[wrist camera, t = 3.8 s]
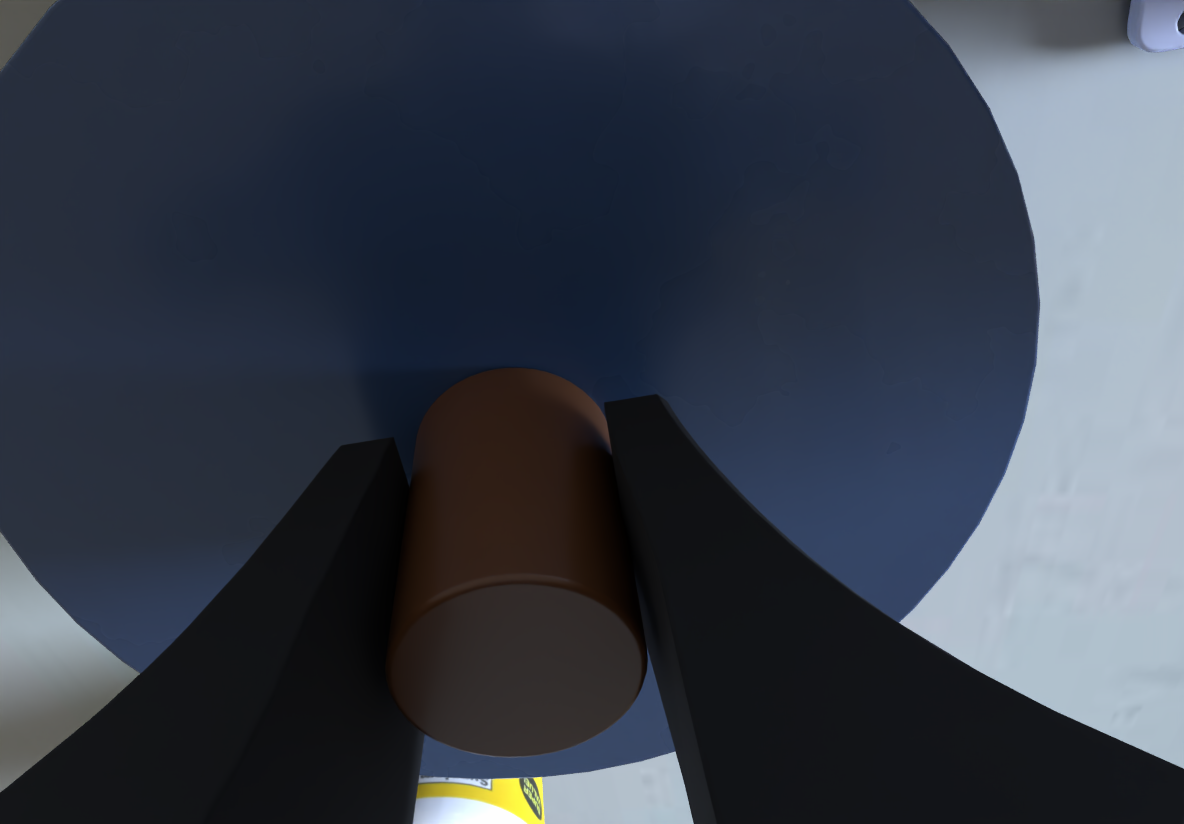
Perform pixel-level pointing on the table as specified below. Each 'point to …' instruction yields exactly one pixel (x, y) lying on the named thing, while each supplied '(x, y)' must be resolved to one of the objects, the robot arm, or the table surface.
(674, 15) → the tin lid
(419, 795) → the supplement bottle
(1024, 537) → the table surface
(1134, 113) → the table surface
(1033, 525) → the table surface
